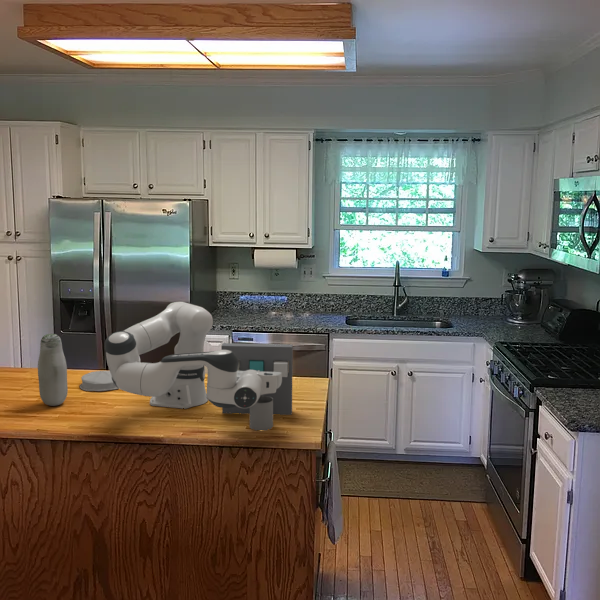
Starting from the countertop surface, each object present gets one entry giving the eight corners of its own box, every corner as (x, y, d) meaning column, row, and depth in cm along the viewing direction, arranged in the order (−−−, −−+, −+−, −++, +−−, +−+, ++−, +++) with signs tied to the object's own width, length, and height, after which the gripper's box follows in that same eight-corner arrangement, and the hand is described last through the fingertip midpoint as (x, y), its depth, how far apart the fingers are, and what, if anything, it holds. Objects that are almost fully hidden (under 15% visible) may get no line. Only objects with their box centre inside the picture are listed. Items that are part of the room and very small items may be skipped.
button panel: (222, 413, 239) (221, 345, 235) (223, 409, 243) (223, 343, 239) (291, 414, 238) (292, 347, 234) (292, 411, 242) (292, 344, 238)
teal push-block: (249, 374, 235) (249, 361, 234) (251, 370, 241) (251, 357, 240) (263, 375, 235) (263, 361, 234) (264, 370, 241) (264, 357, 240)
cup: (249, 422, 230) (249, 395, 229) (272, 421, 231) (272, 395, 229) (249, 431, 222) (249, 403, 220) (273, 430, 223) (273, 403, 221)
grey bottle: (35, 404, 246) (31, 334, 242) (60, 398, 254) (57, 329, 249) (47, 411, 240) (43, 338, 235) (73, 404, 247) (69, 334, 242)
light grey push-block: (273, 376, 233) (273, 363, 232) (274, 372, 239) (274, 359, 238) (287, 377, 233) (287, 363, 232) (288, 372, 239) (288, 359, 238)
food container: (92, 378, 283) (91, 363, 282) (135, 379, 280) (134, 364, 279) (70, 392, 264) (69, 377, 262) (116, 394, 261) (115, 378, 260)
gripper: (220, 391, 219) (227, 379, 232) (280, 393, 218) (283, 381, 232) (220, 373, 218) (227, 362, 231) (280, 375, 217) (283, 364, 231)
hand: (255, 372), depth 231 cm, fingers closed
